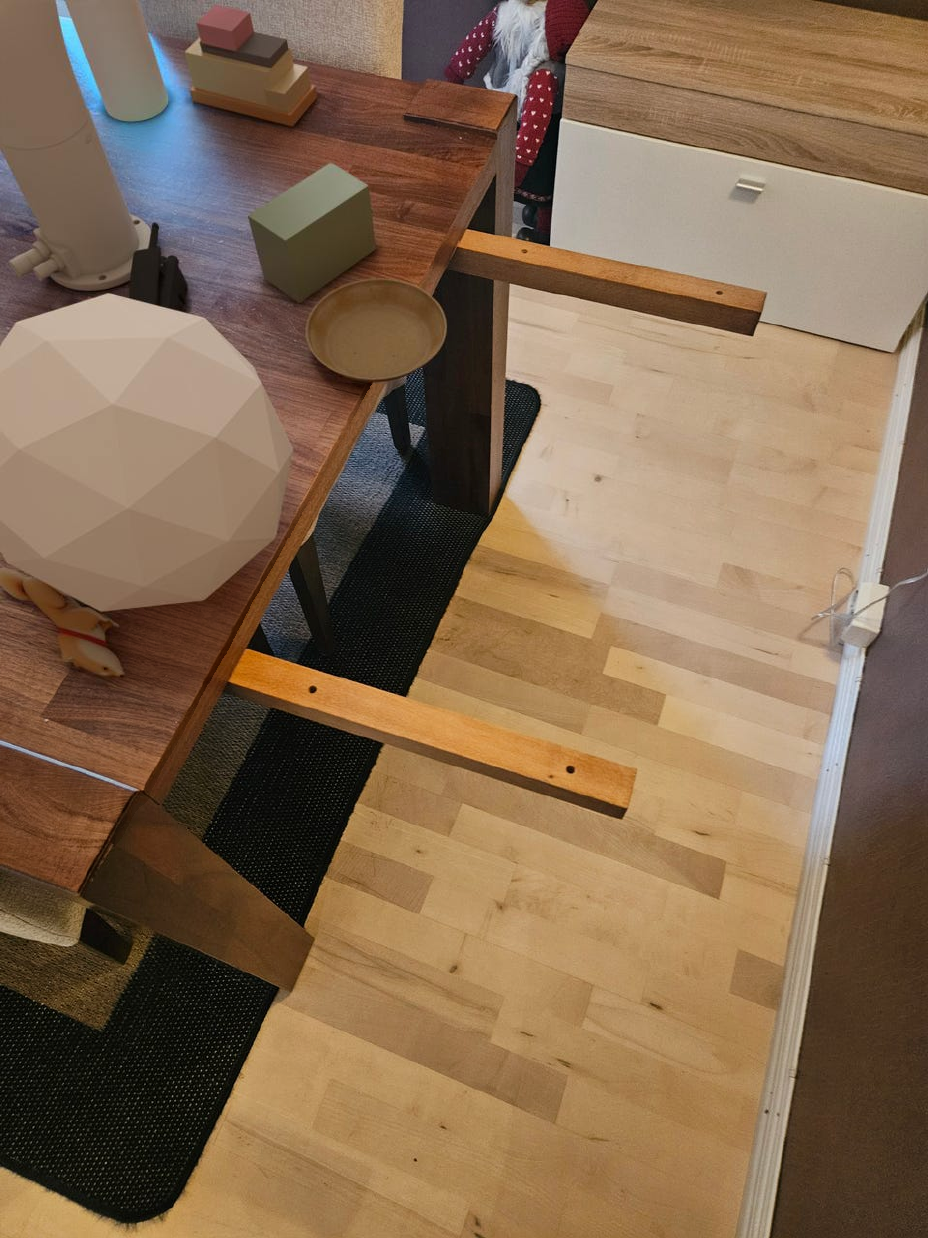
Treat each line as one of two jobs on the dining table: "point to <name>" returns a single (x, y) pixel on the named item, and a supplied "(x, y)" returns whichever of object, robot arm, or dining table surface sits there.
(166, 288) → the walkie-talkie
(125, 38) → the cup
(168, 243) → the dining table surface
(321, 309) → the plant saucer
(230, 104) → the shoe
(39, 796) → the dining table surface
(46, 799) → the dining table surface
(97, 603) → the geometric shape
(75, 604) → the toy
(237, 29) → the grey and pink l-bracket
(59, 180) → the robot arm
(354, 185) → the rectangular block
